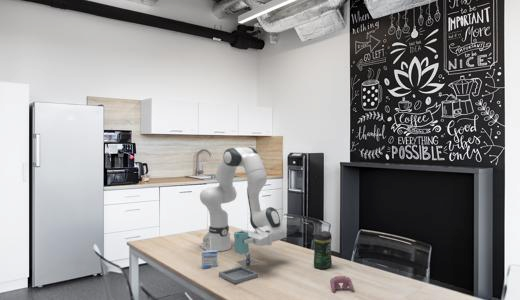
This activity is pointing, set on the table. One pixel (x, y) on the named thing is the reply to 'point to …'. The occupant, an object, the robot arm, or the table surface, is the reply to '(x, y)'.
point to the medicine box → (209, 259)
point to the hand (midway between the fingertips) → (240, 240)
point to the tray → (238, 275)
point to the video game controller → (341, 279)
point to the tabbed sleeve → (241, 242)
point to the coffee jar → (322, 250)
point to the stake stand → (248, 261)
